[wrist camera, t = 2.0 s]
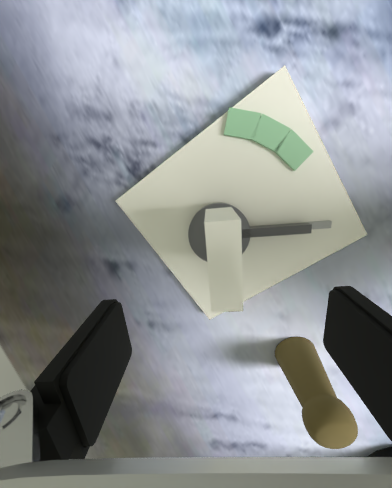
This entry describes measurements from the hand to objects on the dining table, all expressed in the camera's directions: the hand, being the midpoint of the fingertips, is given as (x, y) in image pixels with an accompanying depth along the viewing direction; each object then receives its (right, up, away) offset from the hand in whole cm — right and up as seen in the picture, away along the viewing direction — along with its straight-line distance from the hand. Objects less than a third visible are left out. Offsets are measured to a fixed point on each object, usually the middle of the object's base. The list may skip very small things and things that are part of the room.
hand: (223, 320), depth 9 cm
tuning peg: (+5, +5, +15) cm, 16 cm away
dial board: (+4, +7, +16) cm, 18 cm away
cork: (+14, -13, +22) cm, 29 cm away
